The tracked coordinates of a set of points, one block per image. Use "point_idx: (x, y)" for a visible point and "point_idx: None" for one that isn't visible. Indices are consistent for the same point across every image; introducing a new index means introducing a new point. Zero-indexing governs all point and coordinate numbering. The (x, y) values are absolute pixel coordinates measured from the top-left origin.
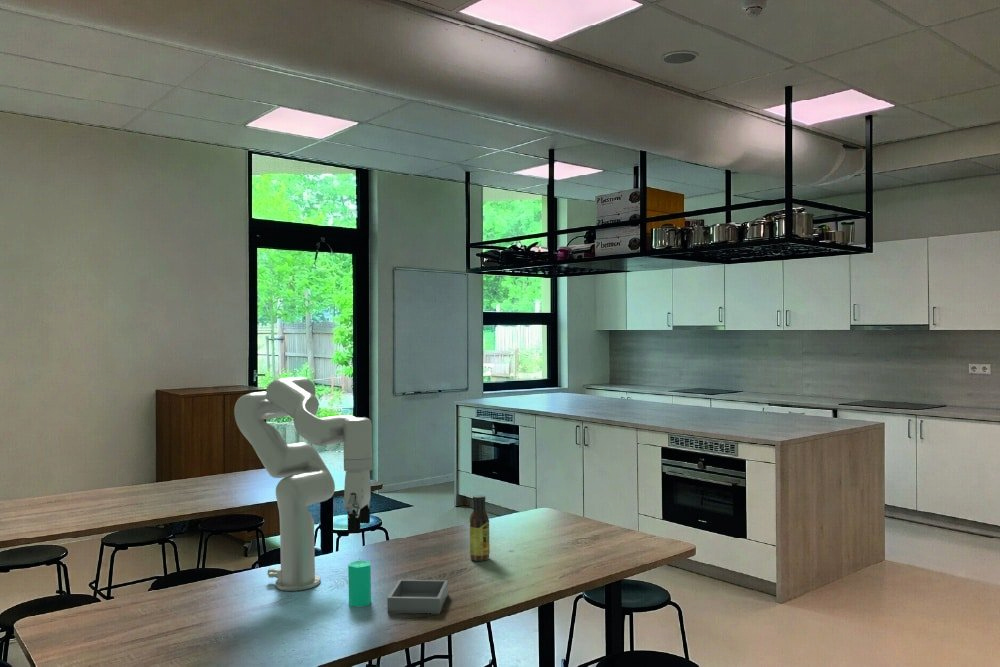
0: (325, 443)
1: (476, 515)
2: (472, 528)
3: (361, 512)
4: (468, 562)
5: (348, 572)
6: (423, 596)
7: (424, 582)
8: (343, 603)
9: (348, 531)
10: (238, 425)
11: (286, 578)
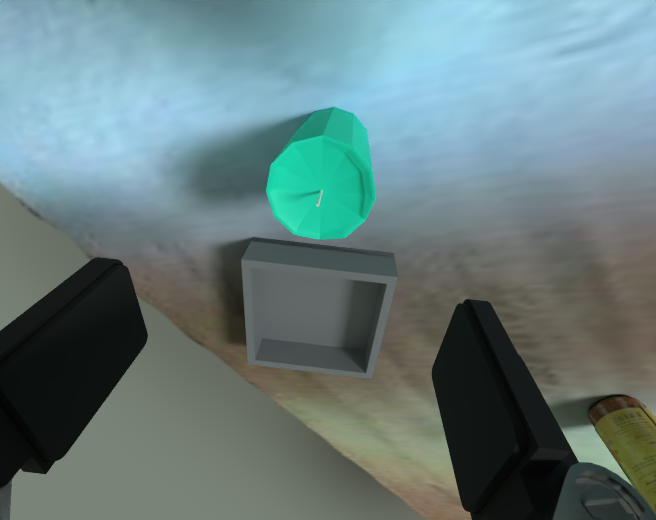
0: None
1: None
2: None
3: (485, 424)
4: (598, 389)
5: (301, 134)
6: (346, 312)
7: (374, 333)
8: (330, 86)
9: (91, 267)
10: None
11: None
